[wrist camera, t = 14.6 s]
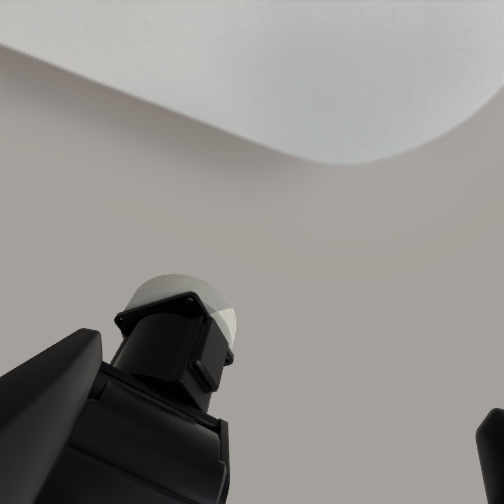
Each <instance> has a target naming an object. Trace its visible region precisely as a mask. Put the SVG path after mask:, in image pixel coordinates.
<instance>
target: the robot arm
mask: <svg viewBox="0 0 504 504" xmlns="http://www.w3.org/2000/svg"><path fill="white" fill-rule="evenodd" d="M188 298H192V299H193V300H189V299H188ZM121 319H123V320H124V321H123V320H121ZM114 322H115V324H116V325H117V326H118V328H119V329H120V331H121V332H122V333H123V335H124V336H125V338H124V340H123V342H122V343H121V345H120V347H119V348H118V350H117V352H116V354H115V356H114V357H113V359H112V361H111V363H110V364H108V363H106V362H104V361H102V343H101V334H100V332H99V331H96V330H91V329H86V328H82V329H79V330H77V331H76V332H74V333H72V334H71V335H69V336H67V337H66V338H64V339H62V340H61V341H59V342H57V343H56V344H54V345H52V346H51V347H49V348H47V349H46V350H44V351H43V352H41V353H39V354H38V355H36V356H34V357H33V358H31V359H29V360H28V361H26V362H24V363H23V364H21V365H19V366H18V367H16V368H14V369H13V370H11V371H9V372H8V373H6V374H4V375H3V376H1V377H0V504H225V503H226V499H227V495H228V490H229V484H230V465H229V439H228V438H229V437H228V422H226V421H224V420H222V419H216V418H214V417H212V416H211V415H208V414H207V411H208V407H209V403H210V398H211V394H212V392H216V391H217V390H218V388H219V384H220V379H221V375H222V371H223V367H224V366H228V365H231V364H232V363H233V359H234V355H233V354H232V351H231V350H230V348H229V346H228V345H229V343H228V341H227V340H226V338H225V336H224V334H223V333H222V331H221V329H220V328H219V326H218V324H217V323H216V321H215V319H214V318H213V317H212V316H210V314H209V313H208V311H207V309H206V307H205V306H204V304H203V302H202V301H201V299H200V297H199V296H198V294H197V293H195V292H192V291H188V292H185V293H182V294H178V295H175V296H172V297H168V298H165V299H162V300H159V301H155V302H152V303H149V304H146V305H142V306H139V307H136V308H132V309H129V310H126V311H123V312H119V313H118V314H117V315H116V317H115V318H114ZM226 358H228V359H226ZM476 444H477V449H478V454H479V459H480V465H481V470H482V475H483V480H484V485H485V491H486V496H487V500H488V504H504V409H500V408H494V409H492V410H491V411H490V412H489V413H488V415H487V416H486V418H485V419H484V420H483V422H482V423H481V425H480V426H479V427H478V429H477V431H476Z"/></svg>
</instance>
